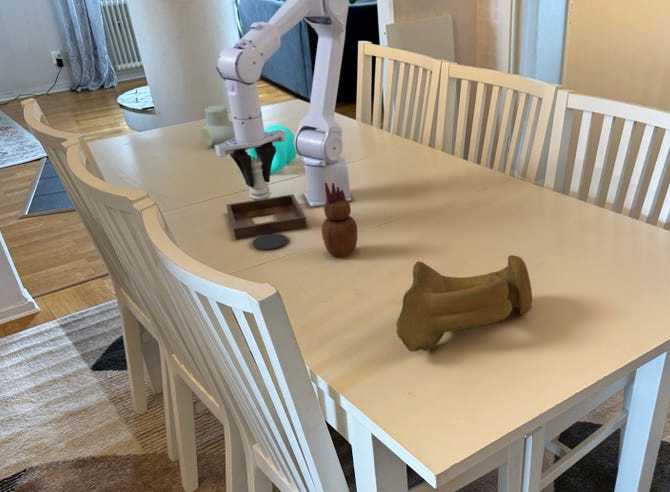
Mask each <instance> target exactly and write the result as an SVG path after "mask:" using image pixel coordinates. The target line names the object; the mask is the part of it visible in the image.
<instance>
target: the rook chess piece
mask: <svg viewBox="0 0 670 492" xmlns="http://www.w3.org/2000/svg"><path fill="white" fill-rule="evenodd" d="M256 158H257V159H255V157H252V159H251V168H252V175H253V180H254V186H253V187H250V186H249V188H248V193H249V194H248V197H249V198H250V199H251V200H264V199H267V198H270V196H271V195H272V193H271V191H270V190H271V189H270V186H268V183H266V182H265V181H264V177H263V173H262V171H263V169H262V168H261V166H262V164H263V162H262V161H261V159H260V158H259V157H256Z"/></svg>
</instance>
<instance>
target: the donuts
mask: <svg viewBox="0 0 670 492" xmlns="http://www.w3.org/2000/svg"><path fill="white" fill-rule="evenodd" d="M276 130H283V131H285V133H286V141H284V142H281V141H280V142H276V143H272V144H273V146H275V147H276V153H275V155H274V158H273V161H272V165H271V171H270V175H272V174H273V175H274V174H277V173H279V172H281V171H282V170H283V169H284V168H285V167H286V164H289V163H291V162H293V161H294V159H296V157H297V155H298V154H297V153H296V151H295V148H294V138H295V134H293V131H291V130H290V129H289V128H287V127H285V126H284V125H280V124H272V125H268V126H267V127H266V128H264V132H269V131H276ZM248 155H250V156H252V157H255V159H257V158H256V157H257V154H256V151H255V148H252V149H248ZM251 159H252V158H251Z"/></svg>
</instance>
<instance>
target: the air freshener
mask: <svg viewBox="0 0 670 492" xmlns="http://www.w3.org/2000/svg"><path fill="white" fill-rule="evenodd" d="M228 113H229V112H228V108H227V107H226V106H225V105H219V104H218V105H211V106H207V107H206V108H205V109H204V114H205V119H206V124H205V125H204V126H203V127H202V128H201V130H200V133H201V137H202V139H203V141H204V142H205V143H206V145H208V146H210V147H212V148H215V145H218V144H221V143H224V142H226V141H229V140H231V139H234V138H236V137H235V131H234V126H233V121H230V118H229V114H228Z"/></svg>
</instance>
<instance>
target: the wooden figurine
mask: <svg viewBox="0 0 670 492" xmlns="http://www.w3.org/2000/svg"><path fill="white" fill-rule="evenodd" d="M325 191H326V203H325V205H323V212H324V215H325V219H324V221H323V222H322V224H321V230H320V231H321V236H322V241H323V243H324V246H325V248H326V251H327V253H328V254H329V255H330V256H332V257H335V258H344V257H349V256H350V255H352V254H353V253H354V252H355V250H356V248H357V243H358V225H357V221H356V220H355V219H354V218H353V217H352V216H350V215H351V212H352V211H351V209H352V208H351V204H350V201H347V200H346V199H345V195H344V192H343V190H341V191H340V190H339V187H337V191H336V190H335V186H334V183H332V191H331V193H330V190H329V188H328V185H327V183H326V182H325Z"/></svg>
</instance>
